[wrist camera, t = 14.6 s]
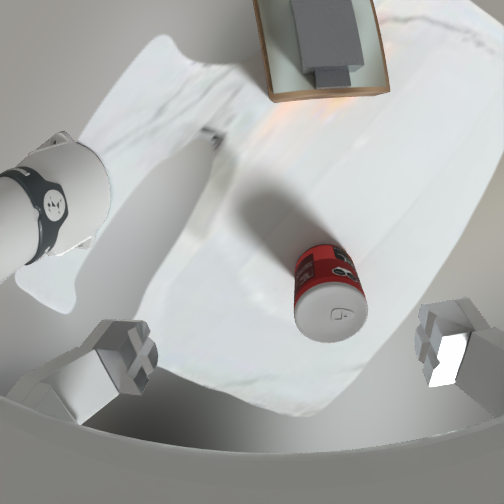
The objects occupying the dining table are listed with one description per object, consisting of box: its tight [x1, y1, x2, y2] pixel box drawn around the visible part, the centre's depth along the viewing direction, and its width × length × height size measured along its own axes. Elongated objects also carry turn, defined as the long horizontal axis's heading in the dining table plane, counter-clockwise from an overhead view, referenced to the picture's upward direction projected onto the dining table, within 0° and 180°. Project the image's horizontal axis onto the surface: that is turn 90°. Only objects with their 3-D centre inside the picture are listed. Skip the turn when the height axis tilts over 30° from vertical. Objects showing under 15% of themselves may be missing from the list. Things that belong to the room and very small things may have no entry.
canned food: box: [294, 245, 368, 343], centre depth 37 cm, size 8×8×11 cm
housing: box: [289, 0, 365, 90], centre depth 22 cm, size 10×5×4 cm, turn 8°
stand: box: [253, 0, 390, 103], centre depth 27 cm, size 12×12×8 cm
